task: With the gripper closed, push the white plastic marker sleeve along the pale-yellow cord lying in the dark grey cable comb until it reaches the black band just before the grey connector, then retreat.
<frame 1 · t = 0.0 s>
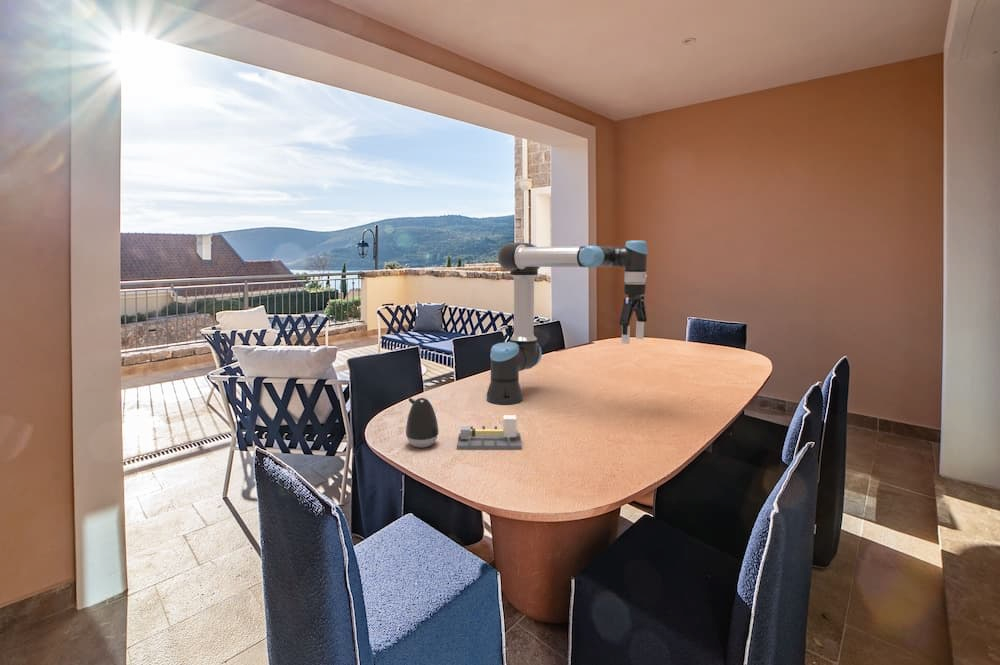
hand: (632, 341, 181), 28 cm above the table, fingers open, 13 cm apart
sleeve: (509, 425, 155), point 6 cm above the table, slide at 0.0 cm
cable comb: (489, 442, 156), on the table
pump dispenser: (422, 445, 154), on the table
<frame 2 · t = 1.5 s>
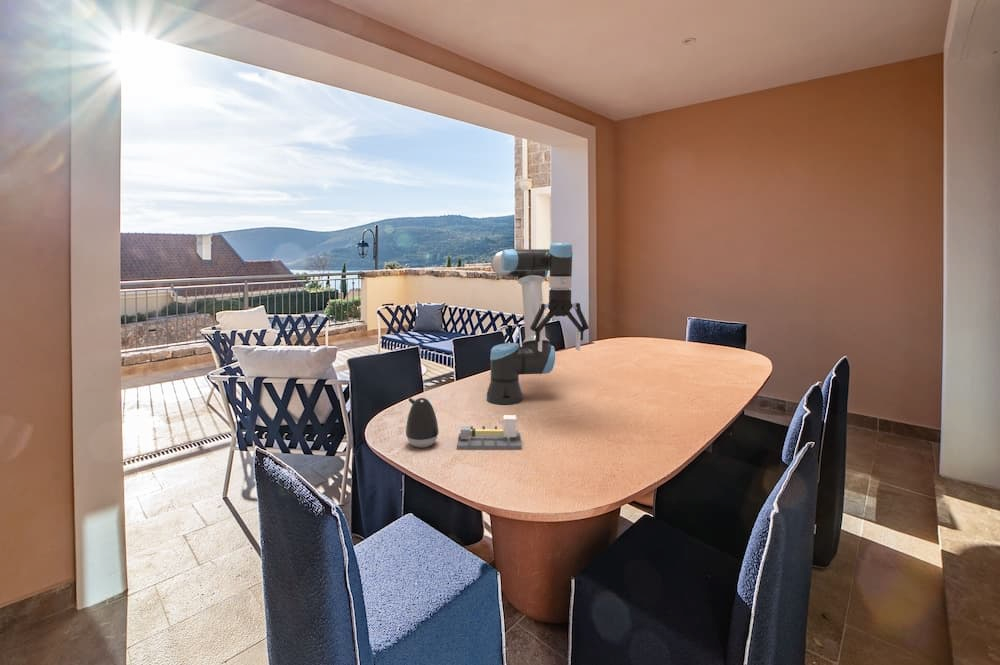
hand: (559, 350, 169), 27 cm above the table, fingers open, 13 cm apart
nothing on the table moved.
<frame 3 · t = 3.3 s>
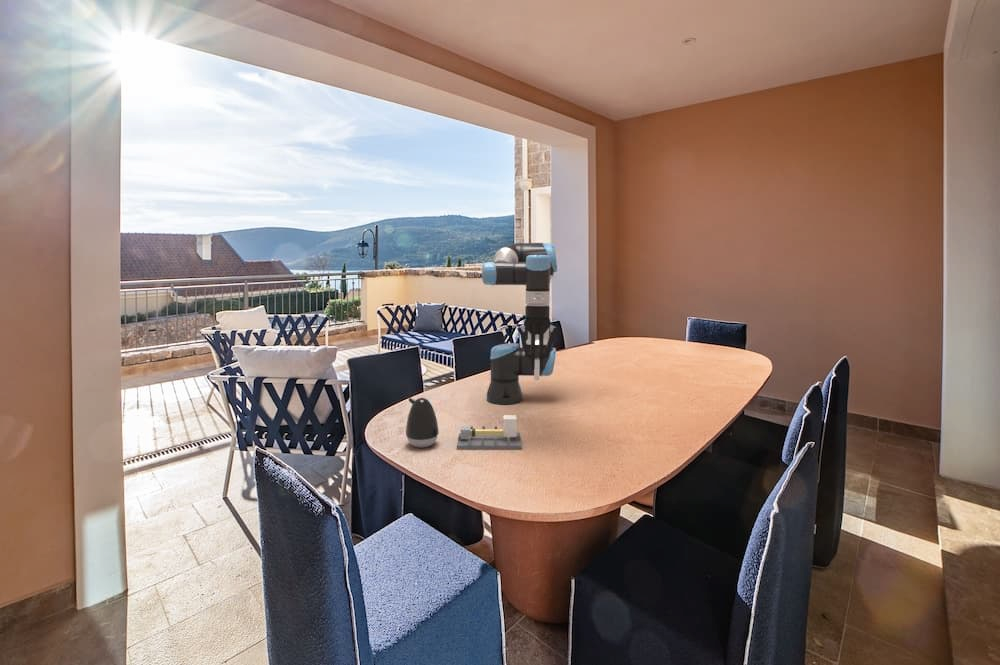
hand: (536, 379, 154), 20 cm above the table, fingers closed
nothing on the table moved.
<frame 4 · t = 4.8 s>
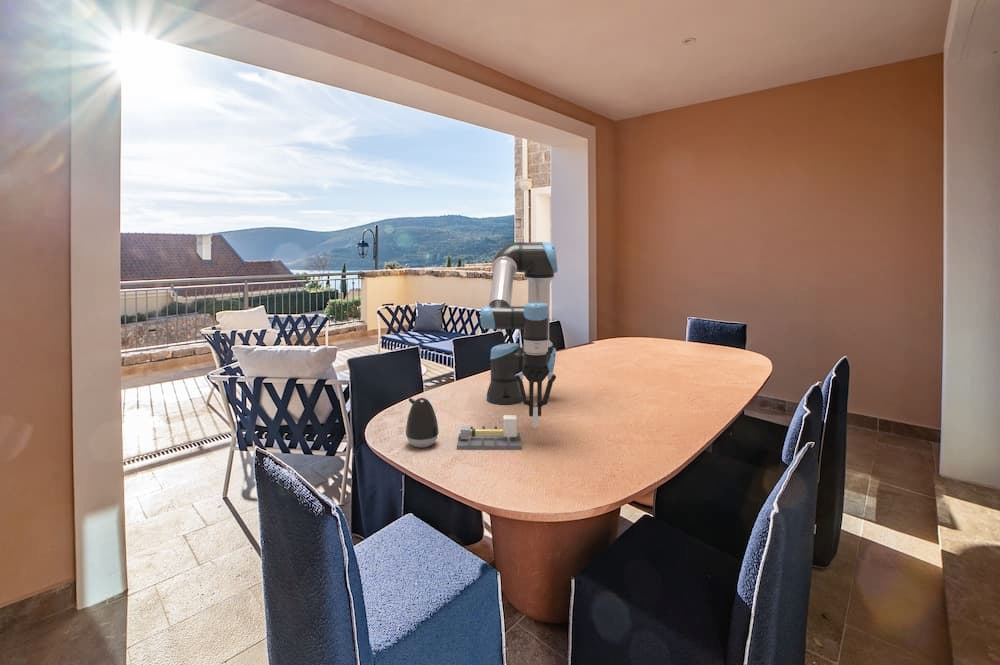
hand: (534, 425, 155), 6 cm above the table, fingers closed
nothing on the table moved.
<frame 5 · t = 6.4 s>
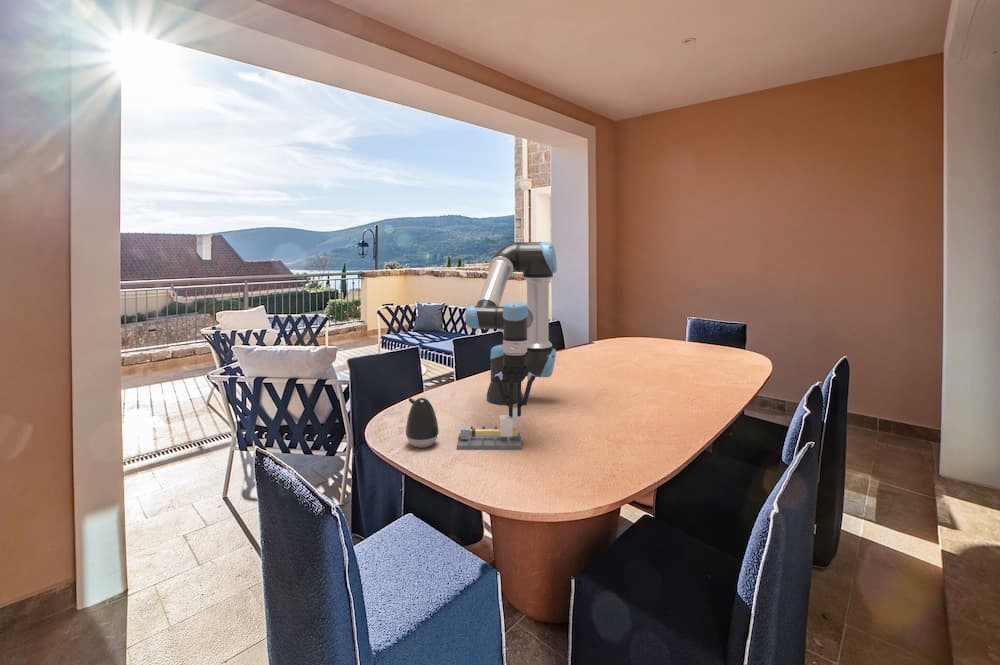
hand: (514, 426, 155), 6 cm above the table, fingers closed
sleeve: (506, 425, 155), point 6 cm above the table, slide at 1.2 cm, touching gripper
everything else where it was.
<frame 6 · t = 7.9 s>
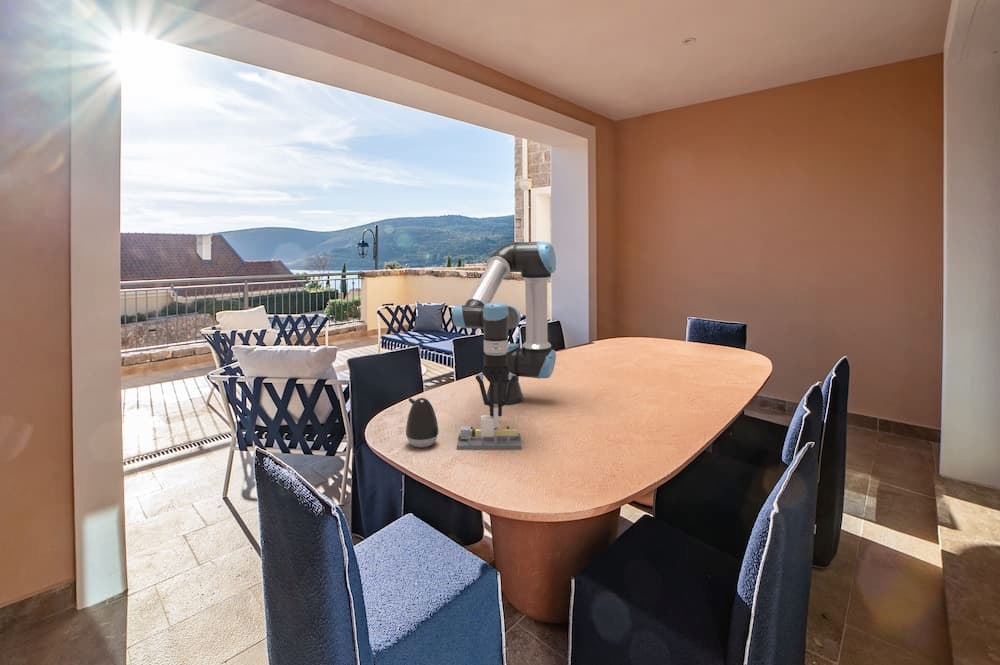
hand: (495, 425, 155), 6 cm above the table, fingers closed
sleeve: (487, 425, 155), point 6 cm above the table, slide at 7.2 cm, touching gripper
everything else where it was.
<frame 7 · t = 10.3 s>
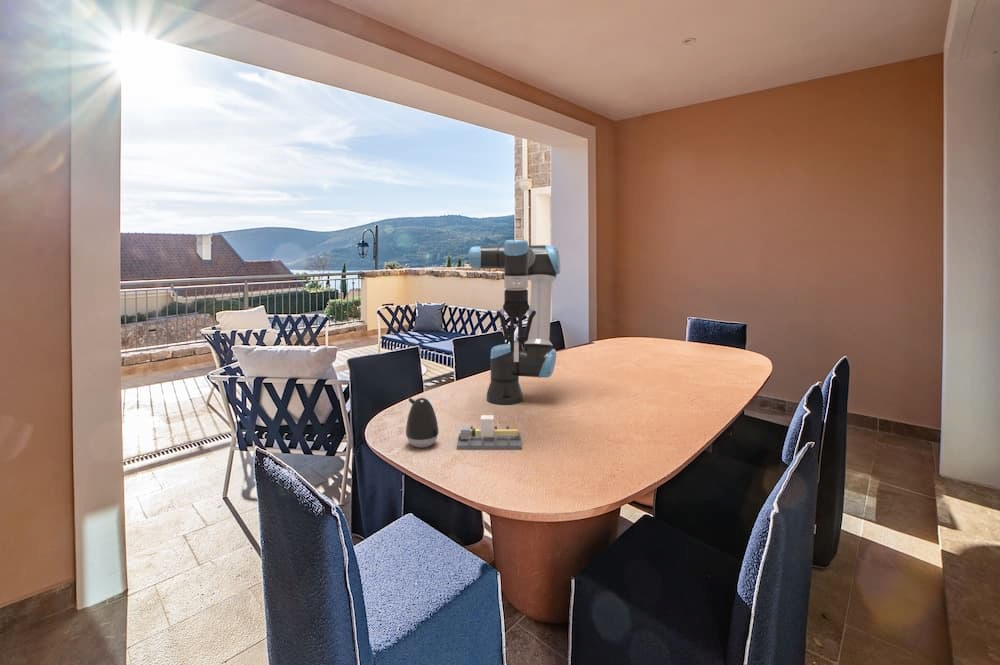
hand: (516, 360, 159), 25 cm above the table, fingers closed
sleeve: (487, 425, 155), point 6 cm above the table, slide at 7.2 cm
everything else where it was.
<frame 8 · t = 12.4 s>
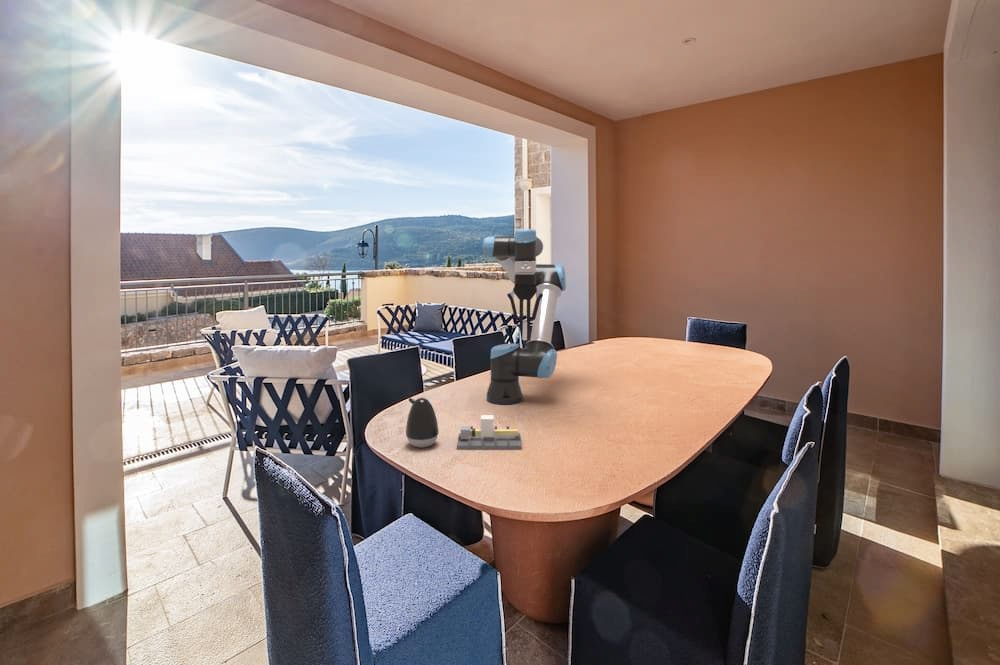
hand: (524, 339, 175), 29 cm above the table, fingers closed
nothing on the table moved.
at the end: sleeve slide at 7.2 cm; sleeve touching nothing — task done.
